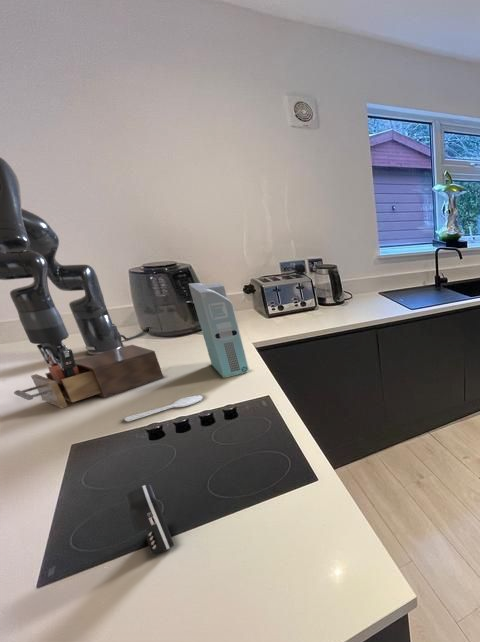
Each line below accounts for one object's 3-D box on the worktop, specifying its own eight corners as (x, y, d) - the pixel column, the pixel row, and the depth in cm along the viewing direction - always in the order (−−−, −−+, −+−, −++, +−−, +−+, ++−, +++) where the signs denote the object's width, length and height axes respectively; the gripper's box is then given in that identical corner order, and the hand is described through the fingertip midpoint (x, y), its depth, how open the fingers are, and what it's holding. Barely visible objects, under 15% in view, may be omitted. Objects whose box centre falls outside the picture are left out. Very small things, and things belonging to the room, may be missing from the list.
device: (249, 371, 141) (228, 288, 130) (224, 378, 136) (199, 292, 124) (235, 358, 151) (215, 280, 140) (211, 364, 146) (188, 283, 135)
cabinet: (104, 397, 122) (92, 368, 118) (82, 389, 126) (70, 361, 123) (163, 377, 135) (154, 350, 131) (141, 370, 140) (132, 344, 136)
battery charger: (141, 538, 74) (120, 490, 70) (167, 527, 77) (148, 479, 72) (148, 560, 70) (125, 510, 65) (175, 547, 72) (155, 498, 68)
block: (74, 375, 121) (68, 362, 119) (81, 378, 119) (76, 364, 118) (54, 381, 117) (47, 367, 115) (61, 384, 115) (55, 370, 114)
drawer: (37, 416, 110) (25, 391, 107) (18, 407, 114) (5, 382, 111) (124, 387, 126) (115, 364, 123) (104, 380, 130) (95, 358, 127)
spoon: (123, 417, 112) (122, 415, 111) (200, 394, 125) (199, 393, 124) (127, 424, 108) (126, 422, 108) (205, 400, 121) (205, 398, 121)
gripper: (74, 324, 112) (97, 378, 119) (49, 317, 117) (72, 369, 124) (37, 331, 106) (62, 389, 112) (12, 324, 111) (38, 379, 117)
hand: (67, 378), depth 118 cm, fingers closed on block, 4 cm apart
